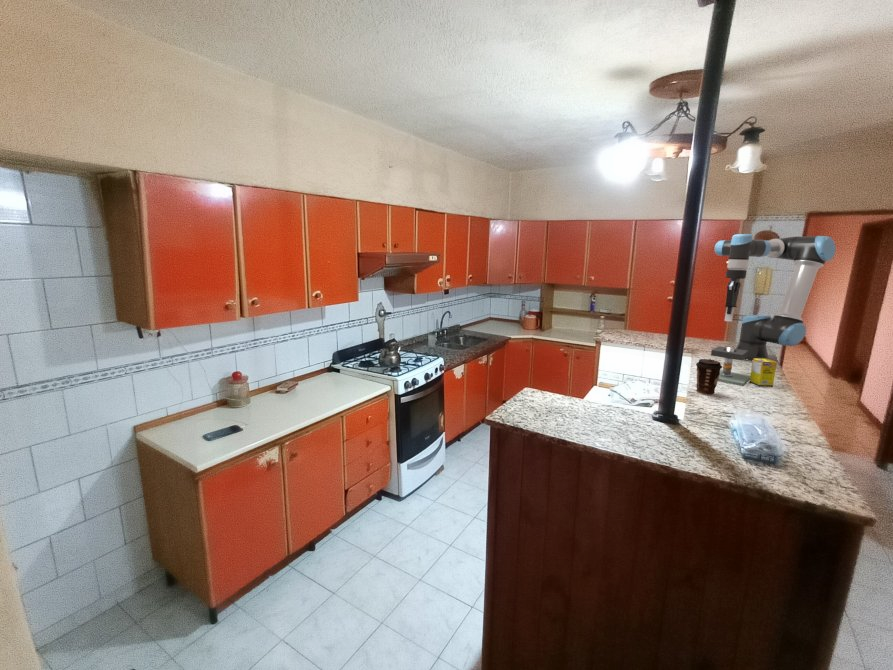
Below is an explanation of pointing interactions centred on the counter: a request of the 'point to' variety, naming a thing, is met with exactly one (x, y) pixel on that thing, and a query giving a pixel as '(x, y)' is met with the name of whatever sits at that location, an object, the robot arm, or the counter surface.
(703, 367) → the coffee cup
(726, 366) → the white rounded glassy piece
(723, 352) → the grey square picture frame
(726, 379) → the base board
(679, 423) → the counter surface
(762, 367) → the supplement box
